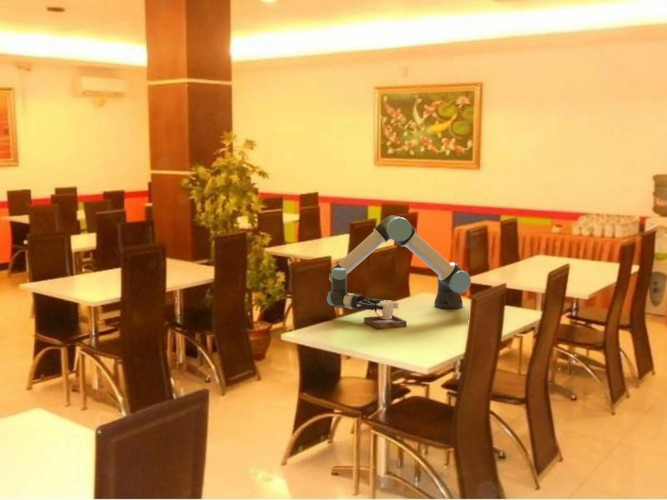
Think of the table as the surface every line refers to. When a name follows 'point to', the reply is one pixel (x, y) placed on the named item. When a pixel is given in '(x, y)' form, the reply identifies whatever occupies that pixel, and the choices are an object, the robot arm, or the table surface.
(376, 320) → the tray
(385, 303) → the cup
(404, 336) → the table surface
